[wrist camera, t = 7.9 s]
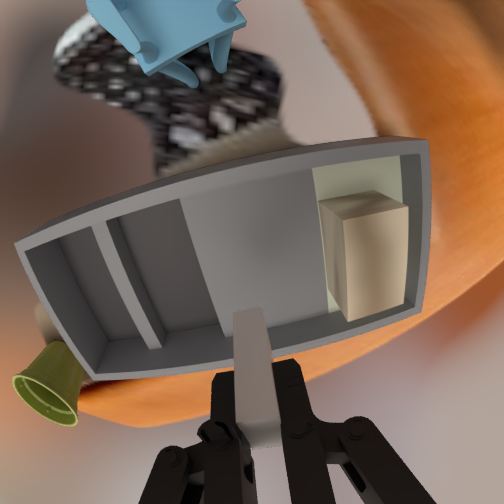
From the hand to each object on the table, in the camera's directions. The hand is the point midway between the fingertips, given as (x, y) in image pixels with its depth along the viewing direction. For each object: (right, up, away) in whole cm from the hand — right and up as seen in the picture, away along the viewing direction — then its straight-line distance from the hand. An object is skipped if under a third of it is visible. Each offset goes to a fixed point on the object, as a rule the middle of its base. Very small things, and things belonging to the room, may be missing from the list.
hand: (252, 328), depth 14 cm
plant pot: (-25, -10, +14) cm, 30 cm away
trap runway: (-2, +4, +10) cm, 11 cm away
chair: (-5, +21, +2) cm, 22 cm away
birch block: (+8, +5, +8) cm, 12 cm away
